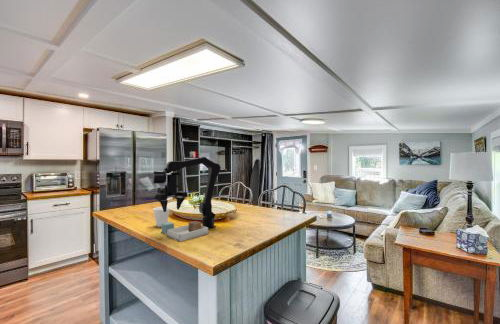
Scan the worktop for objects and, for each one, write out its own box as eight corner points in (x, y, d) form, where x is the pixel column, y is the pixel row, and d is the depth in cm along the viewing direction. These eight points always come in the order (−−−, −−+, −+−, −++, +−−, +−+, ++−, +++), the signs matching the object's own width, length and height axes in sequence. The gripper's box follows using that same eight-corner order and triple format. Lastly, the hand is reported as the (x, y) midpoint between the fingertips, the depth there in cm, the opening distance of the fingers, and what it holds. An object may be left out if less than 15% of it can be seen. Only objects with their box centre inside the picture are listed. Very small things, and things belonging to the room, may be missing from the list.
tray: (195, 229, 150) (195, 223, 150) (208, 233, 141) (208, 227, 141) (166, 236, 137) (166, 229, 137) (179, 241, 128) (179, 234, 128)
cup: (164, 228, 152) (164, 210, 151) (149, 227, 154) (149, 209, 153) (173, 224, 161) (172, 207, 161) (158, 223, 163) (158, 206, 163)
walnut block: (188, 231, 142) (188, 222, 142) (195, 229, 146) (195, 220, 146) (193, 233, 139) (193, 224, 138) (201, 231, 142) (201, 222, 142)
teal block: (169, 230, 148) (169, 222, 148) (174, 232, 144) (173, 223, 144) (161, 232, 144) (161, 223, 144) (165, 234, 141) (165, 225, 141)
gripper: (175, 181, 155) (174, 206, 155) (148, 183, 140) (148, 211, 140) (188, 182, 149) (187, 209, 149) (161, 184, 133) (161, 214, 134)
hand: (171, 210), depth 143 cm, fingers open, 9 cm apart
